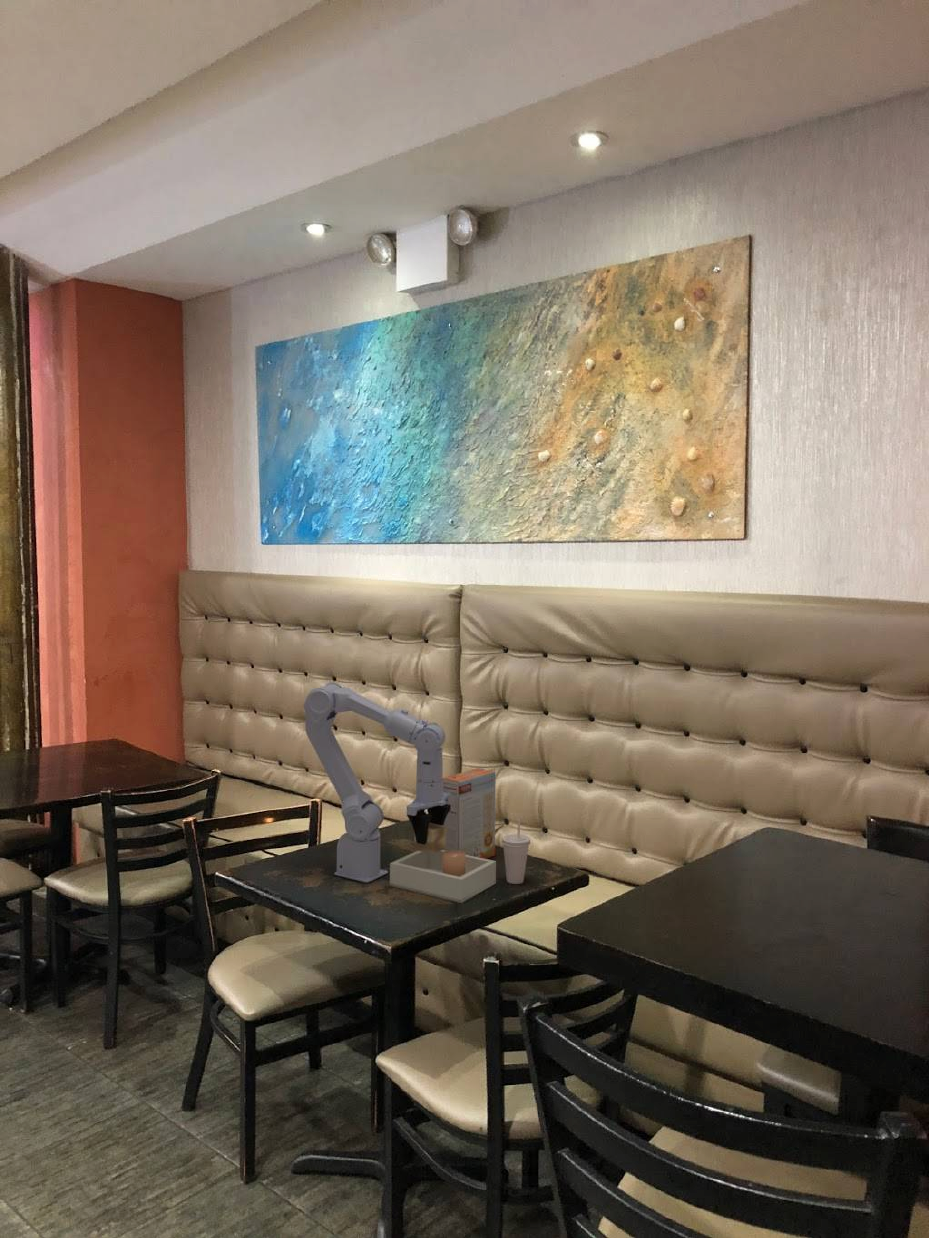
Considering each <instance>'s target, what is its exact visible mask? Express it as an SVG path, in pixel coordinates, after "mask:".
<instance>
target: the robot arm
mask: <svg viewBox="0 0 929 1238" xmlns="http://www.w3.org/2000/svg"><path fill="white" fill-rule="evenodd" d="M303 709H304V711H305V712H304V713H305V722H304V723H305V728H304V729H305V734H306V735H307V738H308V740H309V741H310V743H311V745H312V748H313V749H314V751H315V754H316V755H317V757H318V759H319V760H320V763H321V765H322V766H323V768H324V770H325V772H326V774H327V776H328V778H329V780H330V782H331V784H332V786H333V788H334V789H335V791H336V794H337V795H338V797H339V799H340V801H341V815H342V817H343V819H344V829H345V833H343V834H342V835H341V836H340V837H339V838H338V841H337V843H336V844H337V846H336V871H335V872H334V875H335V876H338V877H343V878H346V879H349V880H354V881H357V882H358V881H359V882H361V883H365V884H368V883H370V882H372V881H374V880H376V879H378V878H380V877H383V876H384V875H386V874H388V873H389V871H388V870H386V869H381V832H380V829H379V827H380V826H381V825H382V823H383V822H384V817H385V816H384V812H383V809H382V808H381V806H380V805H379V804H378V803H376V802H375V801H374V799H372V797H371V794H368V793H367V792H366V791H364V790H363V789H362V786H361V784H360V783H359V780H358V779H357V777H356V774H355V773H354V771H353V768H352V767H351V765H350V763H349V761H348V760H347V757H346V756H345V754H344V752H343V749H342V747H341V745H340V744H339V742H338V740H337V738H336V736H335V734H334V733H333V731H332V730H333V729H332V726H333V724H334V721H335V718H336V716H337V715H338V713H339V714H340V713H345V712H352V713H355V714H357V715H360V716H362V717H365V718H367V719H370V720H372V721H373V722H377V723H379V724H381V725H383V726H384V730H385V732H386V733H387V734H390V735H391V736H394V737H395V738H398V739H399V740H402V741H404V742H406V743H408V744H410V745H414V748H415V750H416V755H417V757H416V782H415V784H416V788H415V789H416V791H415V792H416V795H415V797H416V798H414V800H413V801H411V803H410V804H408V805H406V817H407V818H408V820H409V821H410V824H411V825H412V826H411V827H412V829H413V834H414V833H415V837H416V841H417V843H419V844H426V842H427V835H428V827H429V823H433V824H437V825H442V826H443V825H444V822H445V819H446V817H447V815H448V813H449V811H450V809H451V806H450V805H447V804H446V802H450V793H447V792H442V778H443V766H444V765H443V762H444V761H443V760H444V759H443V747H442V746H443V745H444V743H445V741H446V732H445V730H444V729H443V727H442V726H441V725H439V724H438V723H436V722H429V723H428V720H427V719H425V718H423V719H420V718H418V717H416V716H415V715H411V714H410V713H409V710H408V709H406V708H403V709H402V710H401V709H399V708H397V709H394V710H389V709H387V708H385V707H383V706H381V705H380V704H377V702H374V701H373V700H370V699H368V698H367V697H365V696H363V695H361V694H359V693H357V692H356V691H354V690H352V689H351V688H349V687H345V686H342V685H341V684H339V683H336V682H329V683H327V684H325V685H323V686H320V687H317V688H314V689H312V690H310V692H309V693H308V694H307V696H306V698H305V701H304V703H303ZM426 811H427V812H426Z"/></svg>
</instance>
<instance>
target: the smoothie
mask: <svg viewBox="0 0 929 1238" xmlns="http://www.w3.org/2000/svg"><path fill="white" fill-rule="evenodd" d="M516 830H517V831H516V832H517V834H513V833H512V834H506V835H504V836H502V837H501V844H502V846H503V847H502V848H503V856H504V857H503V858H504V865H505V874H506V875H505V877H506V881H507V883H509V884H512V885H513V884H515V885H517V884H518V885H519V884H522V883H524V879H525V873H526V866H527V859H528V854H529V845H531V838H530V837H529V836H527V835H524V834H521V819H520V818H518V819H517V829H516Z"/></svg>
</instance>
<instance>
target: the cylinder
mask: <svg viewBox="0 0 929 1238" xmlns="http://www.w3.org/2000/svg"><path fill="white" fill-rule="evenodd" d="M465 870H466V853H465V852H463V851H460V850H448V851H445V852H443V871H442V873H444V874H449V875H453V876H458V877H461V876H463V875H465Z"/></svg>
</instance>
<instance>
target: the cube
mask: <svg viewBox="0 0 929 1238" xmlns="http://www.w3.org/2000/svg"><path fill="white" fill-rule="evenodd" d="M443 849H446V826H442V825H437V824H433V823H429V827H428V835H427V842H426V844H419V843H417V841H416V837H415V833H414V832H413V850H415V851H422V852H426V853H430V854H433V853H436V852H438V851H441V850H443Z"/></svg>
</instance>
